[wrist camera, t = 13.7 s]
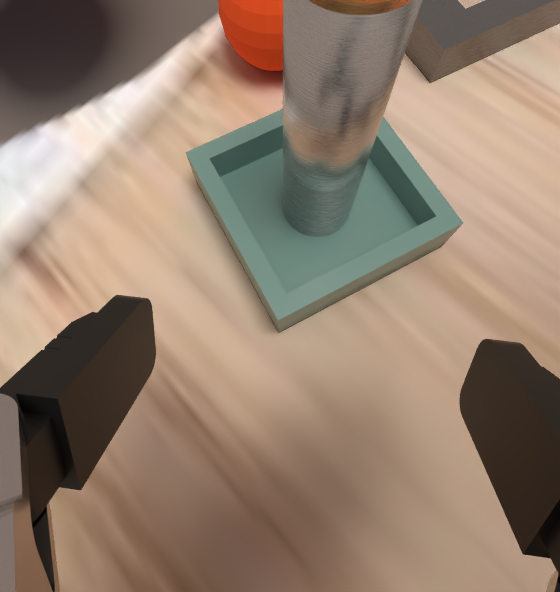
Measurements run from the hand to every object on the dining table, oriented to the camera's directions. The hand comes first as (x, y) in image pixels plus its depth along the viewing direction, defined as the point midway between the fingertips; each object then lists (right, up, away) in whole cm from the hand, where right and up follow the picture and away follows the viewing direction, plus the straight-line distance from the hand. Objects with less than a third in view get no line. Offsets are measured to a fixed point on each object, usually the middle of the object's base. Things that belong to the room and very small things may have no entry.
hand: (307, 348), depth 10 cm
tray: (+2, +6, +14) cm, 16 cm away
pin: (+2, +7, +13) cm, 15 cm away
